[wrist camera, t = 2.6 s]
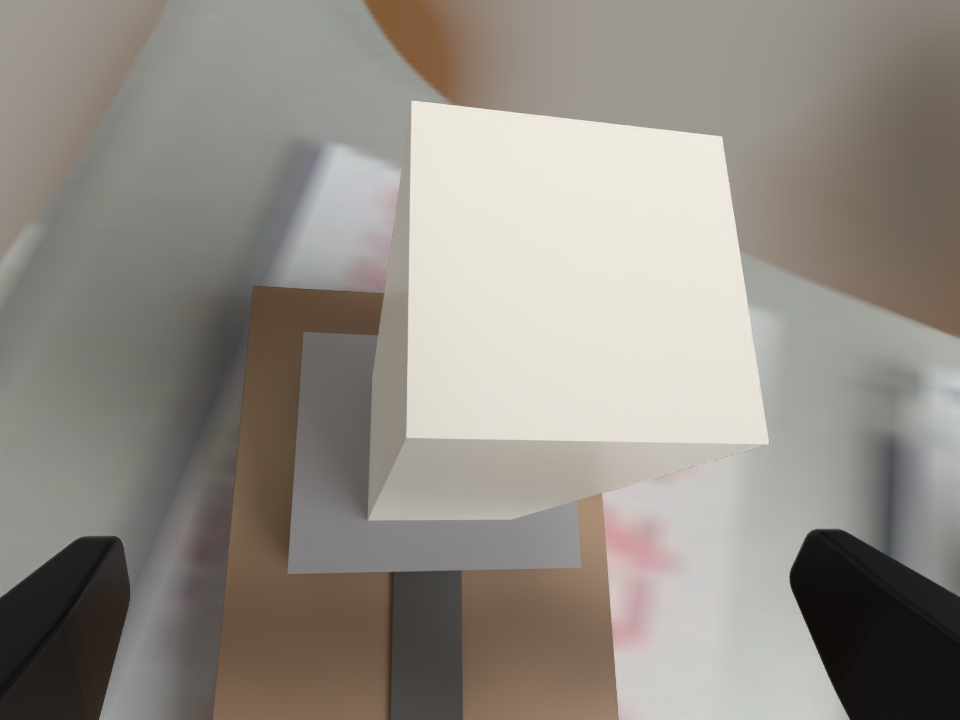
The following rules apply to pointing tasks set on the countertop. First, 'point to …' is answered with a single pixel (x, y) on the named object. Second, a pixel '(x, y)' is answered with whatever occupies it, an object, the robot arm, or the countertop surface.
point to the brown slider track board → (388, 586)
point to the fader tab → (526, 346)
